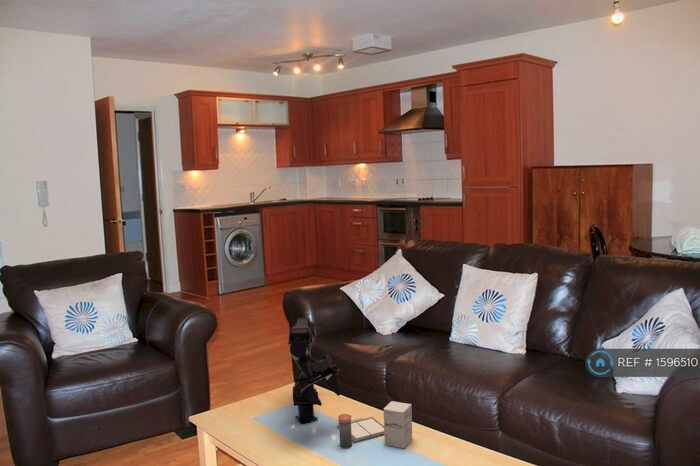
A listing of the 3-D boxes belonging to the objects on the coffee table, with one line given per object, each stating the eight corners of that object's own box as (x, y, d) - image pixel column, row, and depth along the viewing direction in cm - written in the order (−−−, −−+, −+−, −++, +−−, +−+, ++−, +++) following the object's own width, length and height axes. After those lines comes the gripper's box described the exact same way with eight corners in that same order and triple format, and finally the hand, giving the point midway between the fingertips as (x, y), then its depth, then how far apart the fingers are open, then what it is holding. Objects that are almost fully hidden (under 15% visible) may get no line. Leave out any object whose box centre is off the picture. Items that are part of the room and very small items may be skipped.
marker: (337, 444, 197) (336, 415, 196) (349, 441, 199) (347, 413, 197) (343, 449, 193) (341, 420, 192) (354, 446, 195) (353, 417, 194)
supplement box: (383, 445, 195) (382, 408, 193) (393, 435, 201) (391, 400, 200) (404, 449, 191) (403, 412, 190) (413, 439, 198) (411, 403, 196)
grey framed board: (337, 427, 210) (336, 423, 210) (372, 418, 216) (372, 414, 215) (354, 443, 197) (354, 439, 197) (391, 433, 203) (390, 429, 203)
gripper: (296, 358, 193) (323, 399, 188) (334, 341, 207) (360, 378, 202) (281, 375, 199) (306, 415, 194) (319, 358, 213) (343, 394, 208)
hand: (330, 400), depth 199 cm, fingers open, 9 cm apart
